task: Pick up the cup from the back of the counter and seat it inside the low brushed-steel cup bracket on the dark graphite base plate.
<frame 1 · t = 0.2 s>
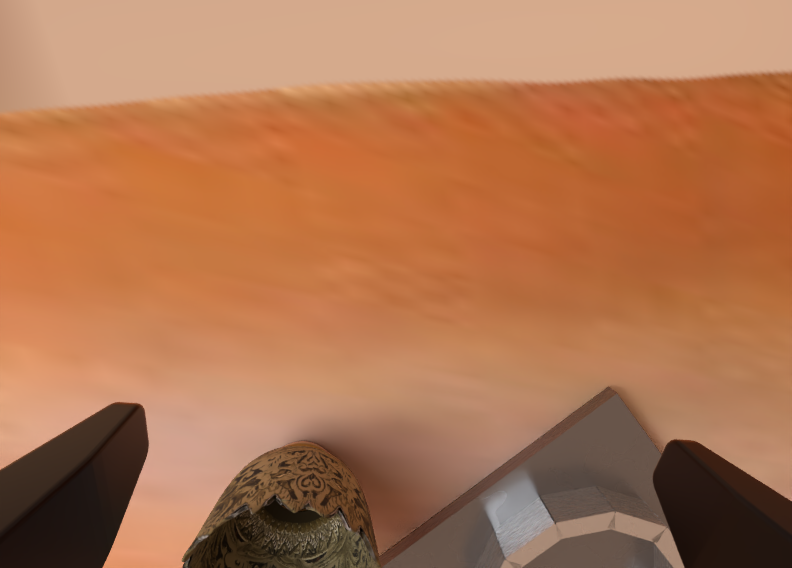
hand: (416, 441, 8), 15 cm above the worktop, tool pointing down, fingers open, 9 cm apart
cup: (303, 464, 25), on the worktop
cup bracket: (567, 566, 27), on the worktop
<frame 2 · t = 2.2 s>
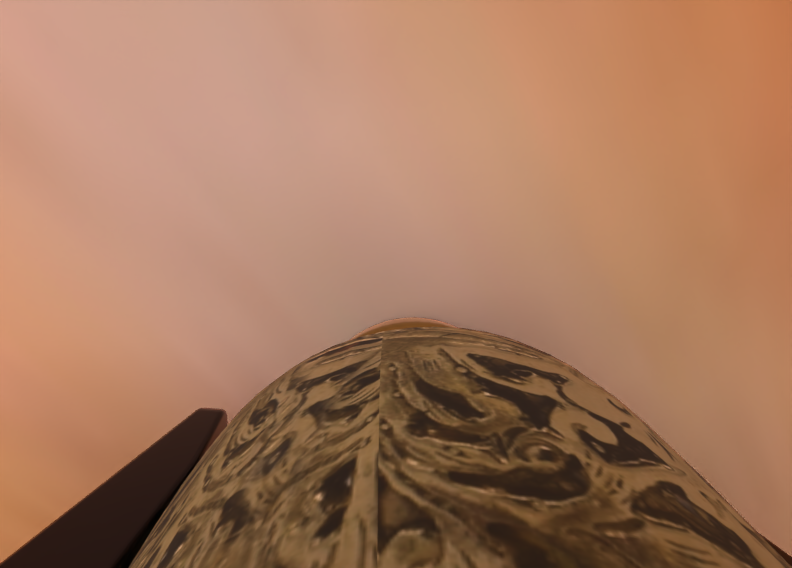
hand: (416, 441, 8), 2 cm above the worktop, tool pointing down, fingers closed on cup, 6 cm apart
cup: (408, 375, 10), on the worktop, touching gripper
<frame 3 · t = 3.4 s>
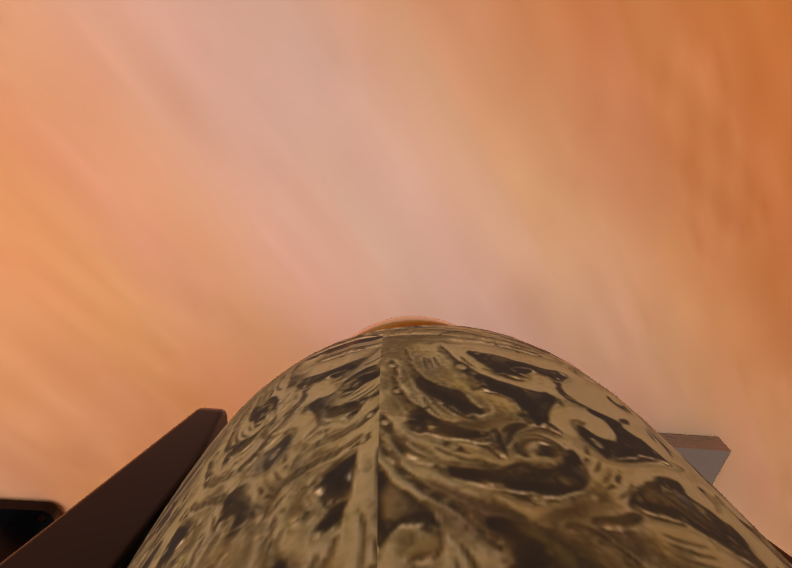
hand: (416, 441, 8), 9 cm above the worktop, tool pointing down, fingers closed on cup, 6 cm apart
cup: (408, 374, 10), point 7 cm above the worktop, touching gripper
cup bracket: (497, 551, 23), on the worktop
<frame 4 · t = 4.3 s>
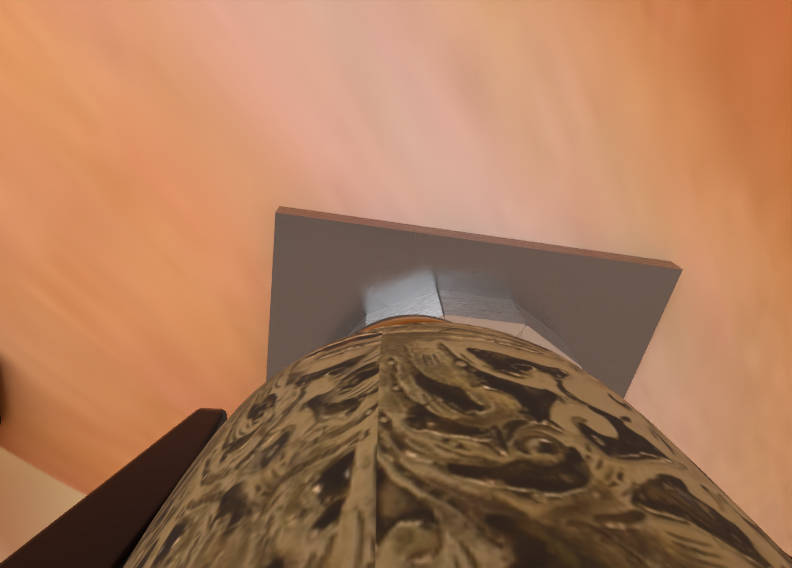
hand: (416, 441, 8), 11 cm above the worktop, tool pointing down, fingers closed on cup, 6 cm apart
cup: (408, 372, 10), point 10 cm above the worktop, touching gripper
cup bracket: (443, 395, 22), on the worktop
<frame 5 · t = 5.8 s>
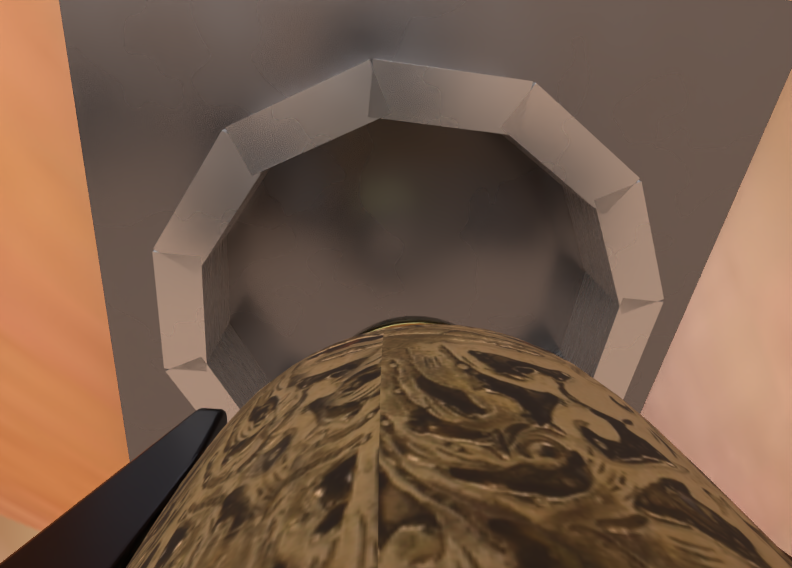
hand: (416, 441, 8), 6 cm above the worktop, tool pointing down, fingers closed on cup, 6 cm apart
cup: (409, 374, 10), point 4 cm above the worktop, touching gripper
cup bracket: (404, 284, 14), on the worktop
when the fingers open (4 cm above the worktop, at t = 6.7 s): cup drops 2 cm, resting on cup bracket.
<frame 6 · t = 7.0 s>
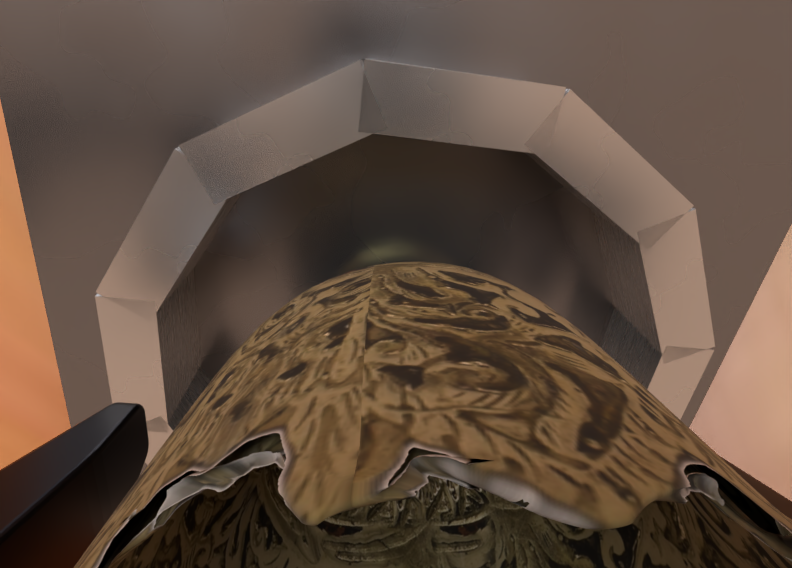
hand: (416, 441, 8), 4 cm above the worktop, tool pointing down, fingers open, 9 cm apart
cup: (400, 327, 11), point 1 cm above the worktop, touching cup bracket
cup bracket: (403, 319, 12), on the worktop
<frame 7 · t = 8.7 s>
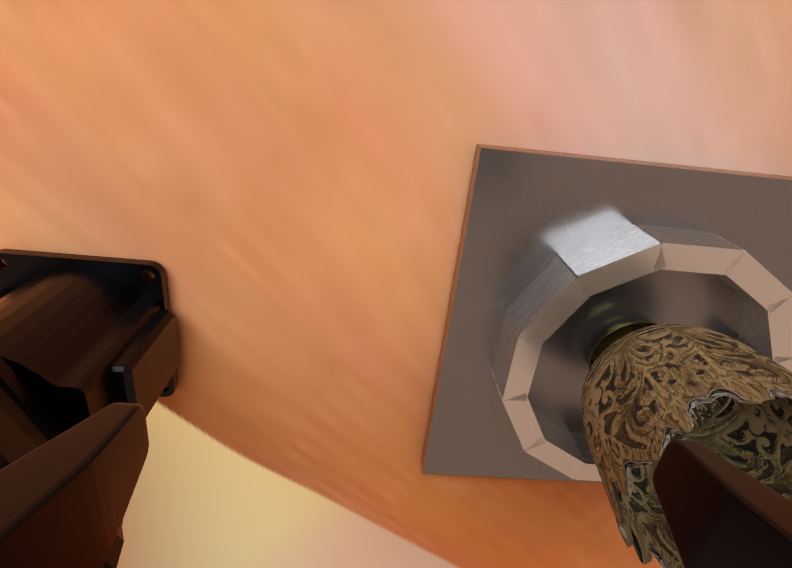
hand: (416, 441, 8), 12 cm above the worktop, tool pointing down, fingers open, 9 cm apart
cup: (621, 346, 21), point 1 cm above the worktop, touching cup bracket
cup bracket: (617, 341, 22), on the worktop
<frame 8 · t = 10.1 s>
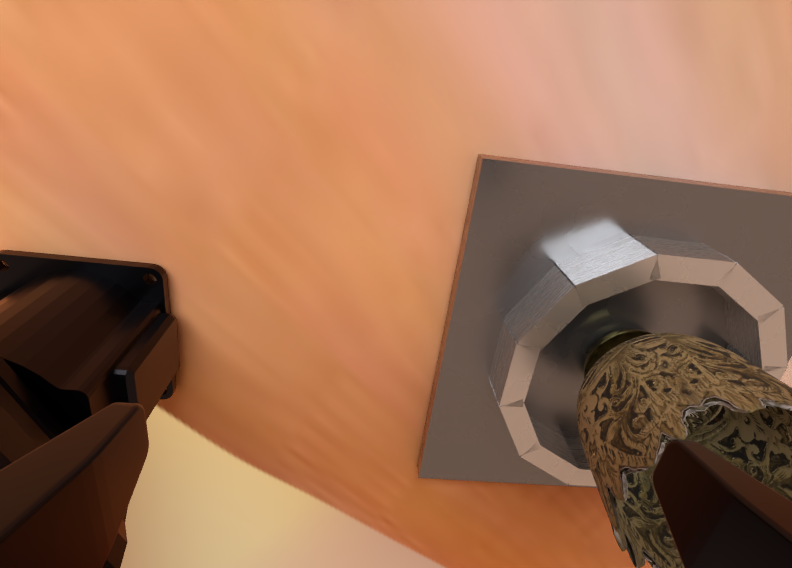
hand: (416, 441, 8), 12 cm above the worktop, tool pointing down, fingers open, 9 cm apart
cup: (615, 353, 21), point 1 cm above the worktop, touching cup bracket
cup bracket: (611, 349, 22), on the worktop
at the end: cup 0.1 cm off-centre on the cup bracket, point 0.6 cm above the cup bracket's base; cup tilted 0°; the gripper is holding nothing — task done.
